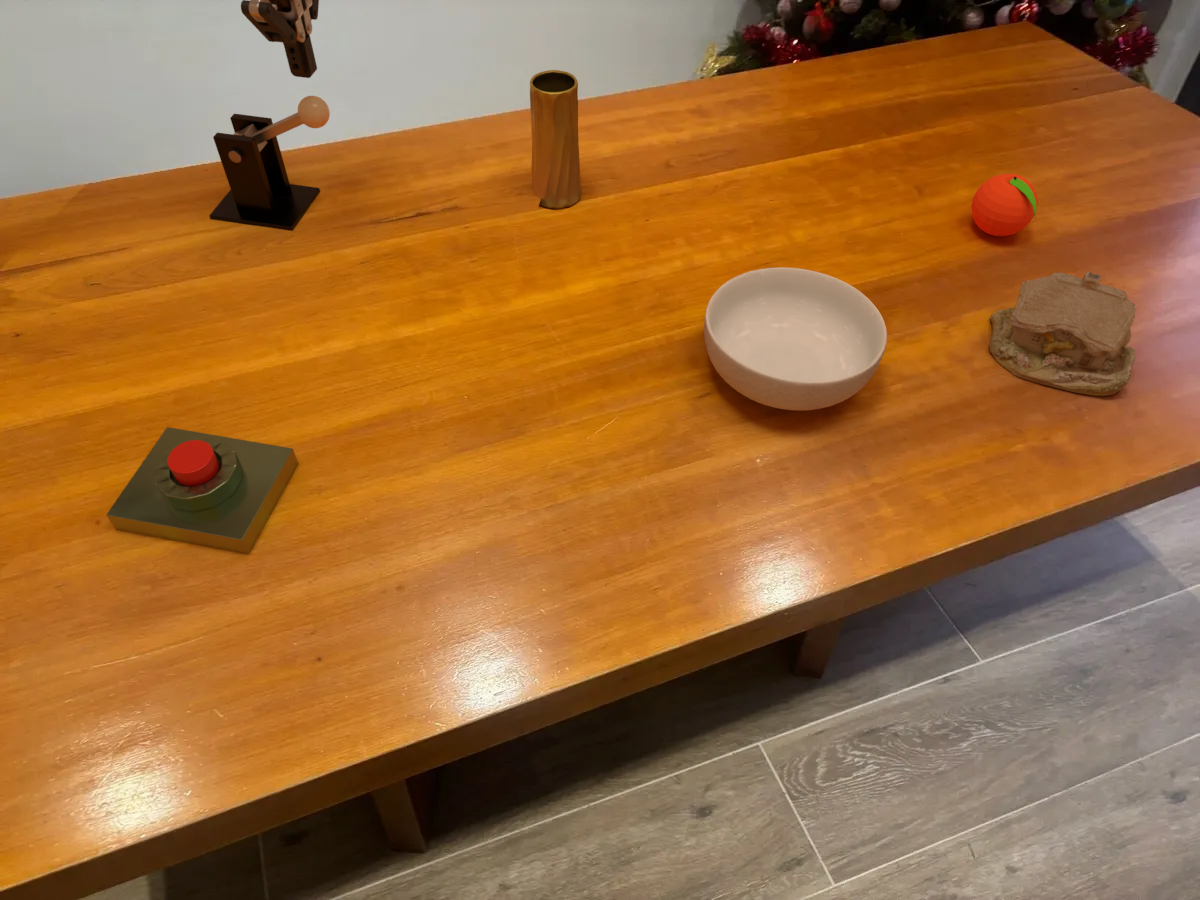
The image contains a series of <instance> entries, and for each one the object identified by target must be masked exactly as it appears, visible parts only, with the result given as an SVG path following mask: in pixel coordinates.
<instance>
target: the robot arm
mask: <svg viewBox="0 0 1200 900" xmlns="http://www.w3.org/2000/svg"><path fill="white" fill-rule="evenodd" d="M319 6H320V0H241V3H240V11H241V13H242V15H243V16H244V17H245V18H246V19H247V20H248V21H249V22H250V23H251V24H252V25H253V26H254V28H256V29H257V30H258V32H259V33H260V34H261V35H262V36H263V38H265V39H266V40H267V41H268V42H271V43H282V45H283V47H284V52H285V55H286V59H287V63H288V67H289V71H290V73H291V75H292V76H293V77H296V78H306V79H310V78H311V77H312V76H313V75H314V74H315V73H316V72H317V70H318V65H317V62H316V61H317V60H316V58H315V57H316V56H315V53H314V47H313V43H312V39H311V34H312V32H313V24H312V21H313V20H314V21H316V20H317V19H318V17H319Z"/></svg>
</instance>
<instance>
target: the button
mask: <svg viewBox="0 0 1200 900" xmlns="http://www.w3.org/2000/svg"><path fill="white" fill-rule="evenodd" d="M167 462H168V466H169V468H170V470H171V472H172V473H173V475H174V477H175V479H176V480H177V482H179V483H180V484H182V485H185V486H197V485H201V484H204V483H206V482H208V481H209V480H211V479H212V478H213V477H214V476H215V475H216V473H217V471H218V469H219V462H218V459H217V457H216V455H215V453H214V451H213V449H212V447H211V446H210V445H209V444H208V443H206V442H204V441H201V440H192V441H187V442H184V443H182V444H180V445H178V446H177V447H175V448H174V449H173V450H172V451H171V453H170V454H169V456H168V461H167Z"/></svg>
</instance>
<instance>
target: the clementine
mask: <svg viewBox="0 0 1200 900" xmlns="http://www.w3.org/2000/svg"><path fill="white" fill-rule="evenodd" d="M1035 189H1036V188H1035V187H1034V186H1033V184H1032V183H1031V182H1030V181H1028V179H1026V177H1023V176H1021V175H1019V174H1015V173H1003V174H996V175H995V176H992V177H990V178H989V179H986V180H985V181H984V182H983V183H982V184H981V185H980V186H979V187H978V188H977V190H976V191H975V194H974V195H973V198H972V200H971V217H972V219H973V221H974V223H975V225H976V226H977V227H978V228H979V229H980V230H982V231H983V232H984V233H986V234H988V235H990V236H995V237H1008V236H1012V235H1015V234H1016V233H1019V232H1021V231H1022V230H1023V229H1025V228H1026V227H1027V226H1028V225H1029V224H1030V223H1031V222H1032V220H1033V219H1034V218H1037V217H1036V216H1037V208H1038V195H1037V192H1036V190H1035Z"/></svg>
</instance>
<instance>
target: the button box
mask: <svg viewBox="0 0 1200 900" xmlns="http://www.w3.org/2000/svg"><path fill="white" fill-rule="evenodd" d="M192 440H201V441H204V442H206V443H208V444H209V445H210V446H211V447H212V449H213V451H214V453H215V455H216V457H217V459H218V462H219V469H218V471H217V473H216V475H215V476H214V477H213V478H212V479H211V480H209V481H208V482H206V483H204V484H201V485H197V486H185V485H182V484H180V483H179V482H177V480H176V479H175V477H174V475H173V473H172V472H171V470H170V468H169V466H168V462H167V461H168V456H169V454H170V453H171V451H172V450H173V449H174V448H175V447H177V446H178V445H180V444H182V443H184V442H187V441H192ZM298 465H299V462H298V458H297V455H296V453H295V450H294V448H292V447H287V446H280V445H275V444H268V443H264V442H263V443H262V442H257V441H250V440H246V439H240V438H235V437H228V436H222V435H216V434H210V433H204V432H200V431H199V432H198V431H193V430H188V429H182V428H175V427H170V426H167V427H165V429H164V431H163V432H162V433H161V435H160V436H159V438H158V439H157V441H156V442H155V444H154V445H153V446H152V448H151V450H150V451H149V452H148V453H147V455H146V456H145V458H144V460H143V461H142V462H141V464H140V465H139V467H138V468H137V469H136V471H135V472H134V474H133V476H132V477H131V478H130V480H129V481H128V483H127V484H126V485H125V486H124V488H123V489H122V491H121V492H120V494H119V495H118V497H117V498H116V500H115V502H114V503H113V504H112V505H111V507H110V509H109V510H108V511H107V513H106V517H107V518H108V520H109V521H110V523H111V525H112V526H113V527H114V529H115V530H116V531H122V532H127V533H132V534H136V535H137V534H138V535H143V536H148V537H153V538H158V539H163V540H169V541H175V542H181V543H186V544H191V545H196V546H202V547H207V548H212V549H217V550H222V551H229V552H233V553H240V554H245V555H250V554H251V552H252V550H253V549H254V547H255V544H256V543H257V541H258V539H259V537H260V535H261V534H262V532H263V530H264V528H265V526H266V524H267V523H268V521H269V519H270V517H271V515H272V513H273V511H274V510H275V508H276V506H277V504H278V503H279V501H280V498H281V497H282V495H283V493H284V492H285V490H286V488H287V487H288V483H289V482H290V480H291V478H292V477H293V474H294V473H295V471H296V469H297V467H298Z"/></svg>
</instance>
